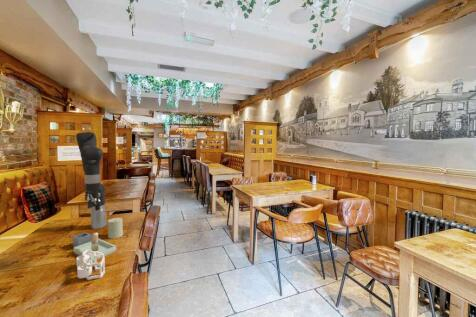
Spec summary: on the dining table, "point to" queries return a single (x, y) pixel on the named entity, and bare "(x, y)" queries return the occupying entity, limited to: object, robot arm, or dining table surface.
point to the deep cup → (81, 239)
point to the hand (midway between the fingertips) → (93, 209)
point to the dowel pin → (94, 241)
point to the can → (115, 228)
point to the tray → (102, 247)
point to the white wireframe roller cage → (90, 264)
